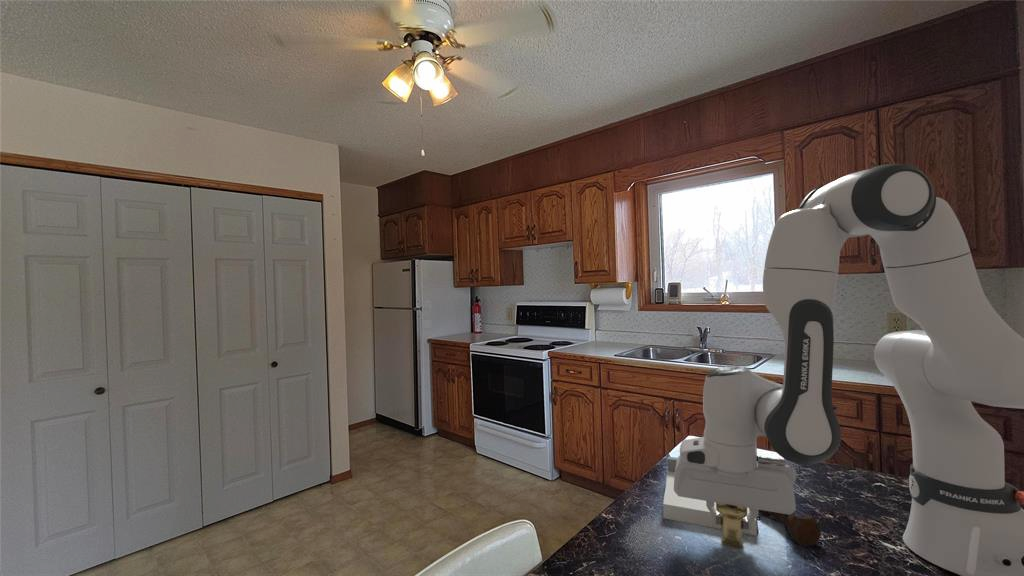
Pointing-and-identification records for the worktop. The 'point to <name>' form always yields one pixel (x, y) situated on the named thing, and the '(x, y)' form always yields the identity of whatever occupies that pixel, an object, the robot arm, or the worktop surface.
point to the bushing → (731, 524)
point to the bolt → (798, 526)
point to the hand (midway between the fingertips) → (731, 525)
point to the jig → (689, 505)
